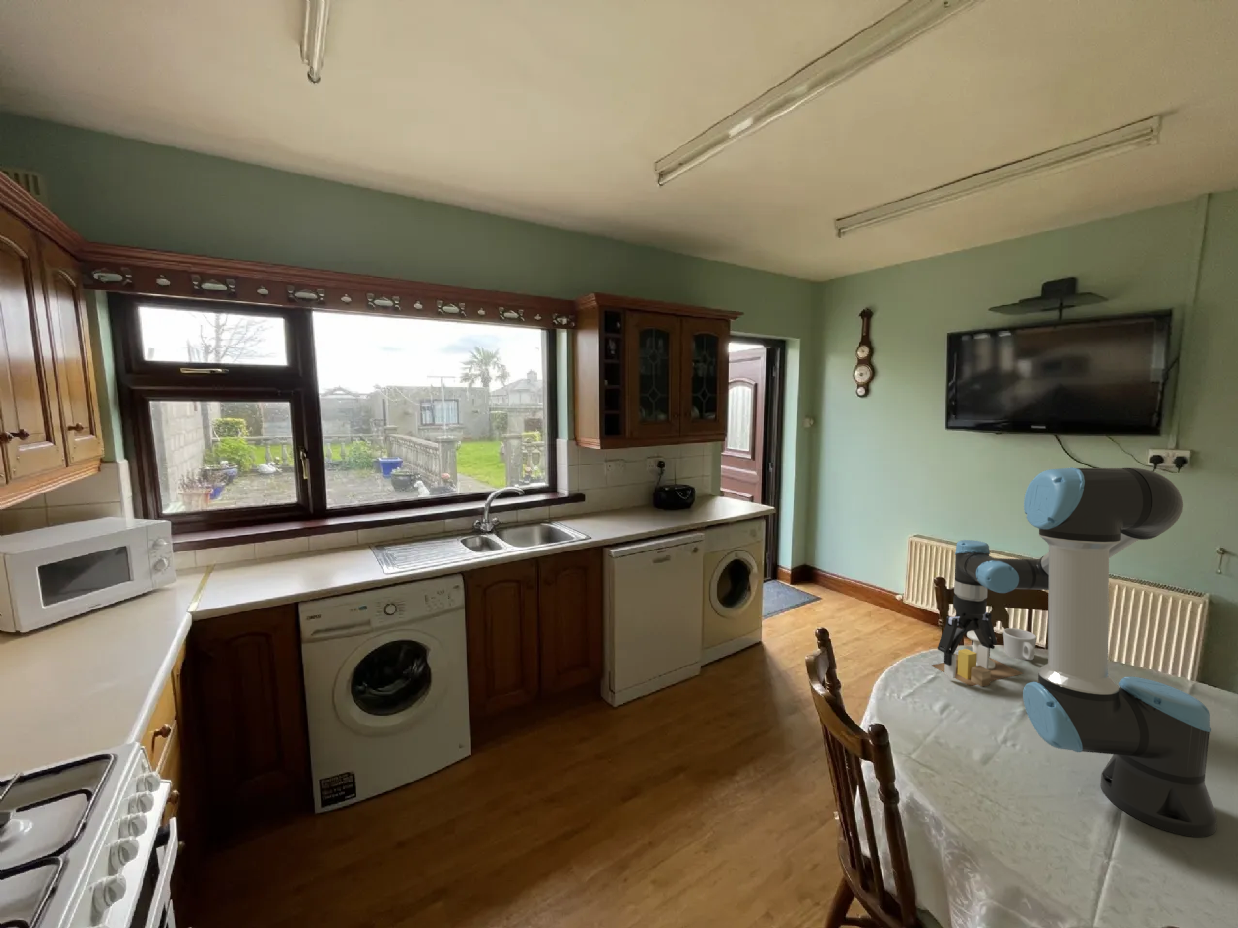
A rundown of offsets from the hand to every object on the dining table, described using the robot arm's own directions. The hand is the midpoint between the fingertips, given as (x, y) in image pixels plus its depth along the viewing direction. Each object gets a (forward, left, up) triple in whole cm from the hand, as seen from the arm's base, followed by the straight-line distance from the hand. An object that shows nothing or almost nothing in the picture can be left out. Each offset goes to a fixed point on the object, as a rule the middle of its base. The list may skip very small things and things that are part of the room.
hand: (966, 672), depth 141 cm
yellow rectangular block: (+1, -1, -2) cm, 2 cm away
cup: (+3, -26, -3) cm, 26 cm away
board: (+2, -7, -3) cm, 8 cm away
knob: (+4, -11, -2) cm, 12 cm away
